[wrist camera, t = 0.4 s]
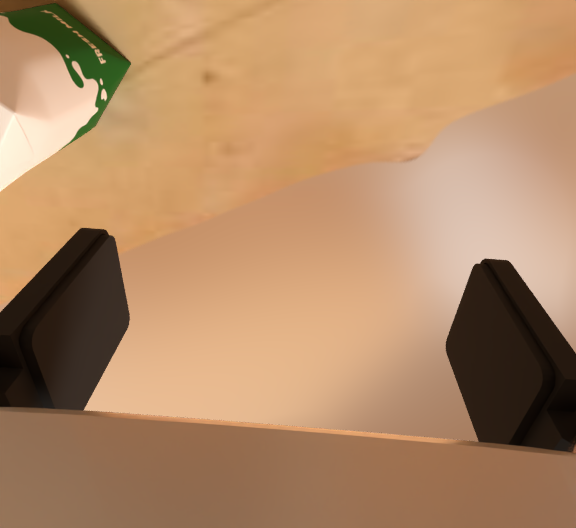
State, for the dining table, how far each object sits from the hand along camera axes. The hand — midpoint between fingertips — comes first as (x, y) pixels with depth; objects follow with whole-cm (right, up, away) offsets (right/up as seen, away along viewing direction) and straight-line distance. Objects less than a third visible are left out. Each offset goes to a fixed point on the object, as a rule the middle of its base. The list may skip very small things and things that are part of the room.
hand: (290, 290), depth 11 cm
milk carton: (-18, +18, +26) cm, 37 cm away
